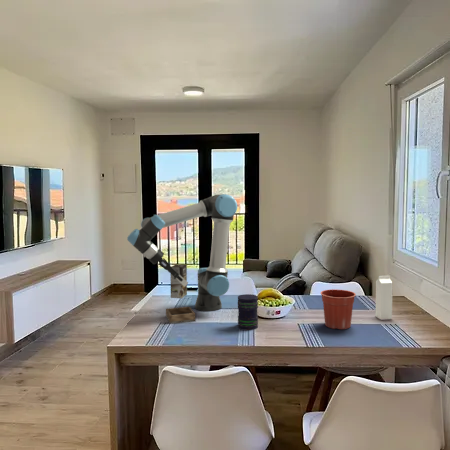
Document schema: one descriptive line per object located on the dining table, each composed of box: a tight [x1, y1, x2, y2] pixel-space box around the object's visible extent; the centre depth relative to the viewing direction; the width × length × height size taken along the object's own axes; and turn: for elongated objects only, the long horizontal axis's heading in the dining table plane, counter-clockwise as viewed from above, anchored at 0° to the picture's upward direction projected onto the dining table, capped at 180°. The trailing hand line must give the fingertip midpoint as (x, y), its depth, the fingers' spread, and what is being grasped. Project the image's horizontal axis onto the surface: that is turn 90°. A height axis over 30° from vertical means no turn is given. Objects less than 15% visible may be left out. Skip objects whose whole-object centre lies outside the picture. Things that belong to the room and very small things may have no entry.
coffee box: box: [170, 264, 188, 299], centre depth 217 cm, size 9×6×16 cm
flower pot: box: [320, 288, 357, 330], centre depth 203 cm, size 16×16×16 cm
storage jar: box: [237, 293, 259, 331], centre depth 203 cm, size 10×10×15 cm
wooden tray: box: [165, 306, 196, 325], centre depth 218 cm, size 13×14×4 cm
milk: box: [375, 274, 393, 321], centre depth 214 cm, size 6×6×22 cm
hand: (184, 282), depth 218 cm, fingers closed on coffee box, 10 cm apart
